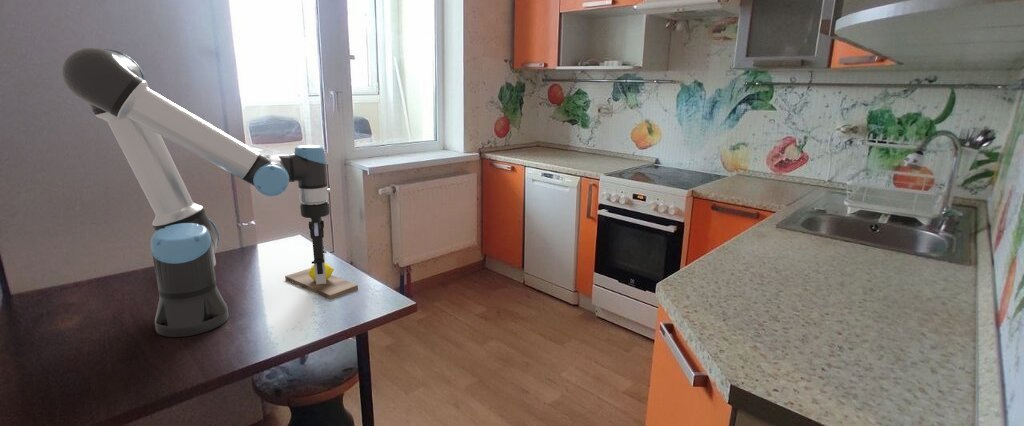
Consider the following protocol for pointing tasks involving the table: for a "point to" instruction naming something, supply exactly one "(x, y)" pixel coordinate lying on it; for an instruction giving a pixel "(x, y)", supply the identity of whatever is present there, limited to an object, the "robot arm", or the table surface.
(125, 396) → the table surface
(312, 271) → the lemon
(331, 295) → the cutting board
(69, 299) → the table surface
